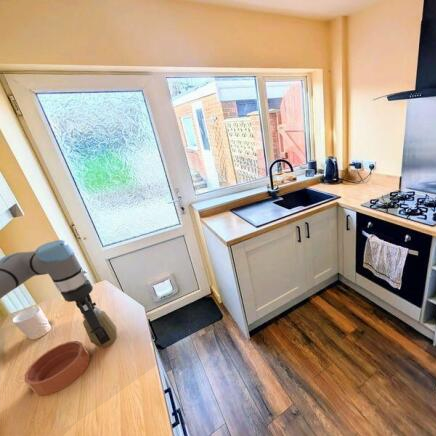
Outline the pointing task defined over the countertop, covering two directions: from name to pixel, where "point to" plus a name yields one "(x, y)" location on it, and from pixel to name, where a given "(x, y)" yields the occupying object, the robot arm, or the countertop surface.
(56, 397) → the countertop surface
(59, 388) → the bowl
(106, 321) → the squeeze bottle
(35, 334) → the white cup
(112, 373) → the countertop surface
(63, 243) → the robot arm
